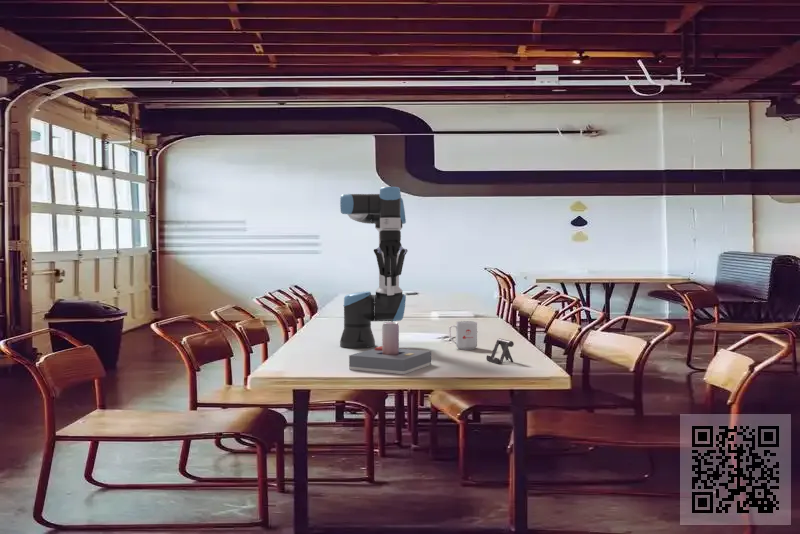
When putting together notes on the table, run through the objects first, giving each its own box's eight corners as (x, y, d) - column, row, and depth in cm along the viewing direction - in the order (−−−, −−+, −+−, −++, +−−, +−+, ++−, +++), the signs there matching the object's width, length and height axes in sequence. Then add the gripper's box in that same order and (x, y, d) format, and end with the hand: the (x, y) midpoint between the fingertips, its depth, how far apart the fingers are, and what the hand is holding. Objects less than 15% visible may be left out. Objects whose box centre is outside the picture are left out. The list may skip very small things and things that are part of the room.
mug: (474, 346, 322) (474, 320, 322) (479, 349, 313) (479, 323, 313) (446, 347, 320) (446, 321, 320) (451, 350, 312) (451, 323, 311)
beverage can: (382, 362, 275) (381, 322, 275) (398, 362, 276) (398, 321, 275) (383, 365, 270) (382, 324, 269) (399, 365, 270) (399, 323, 269)
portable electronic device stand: (486, 361, 285) (486, 339, 285) (503, 359, 288) (503, 337, 288) (498, 364, 277) (498, 342, 277) (516, 363, 280) (516, 340, 280)
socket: (349, 369, 268) (349, 353, 268) (379, 360, 288) (379, 345, 287) (404, 374, 258) (403, 357, 258) (431, 364, 277) (431, 348, 277)
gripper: (369, 229, 270) (369, 295, 271) (401, 229, 264) (401, 296, 265) (379, 229, 277) (379, 293, 278) (411, 229, 271) (411, 294, 272)
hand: (390, 294), depth 272 cm, fingers closed
